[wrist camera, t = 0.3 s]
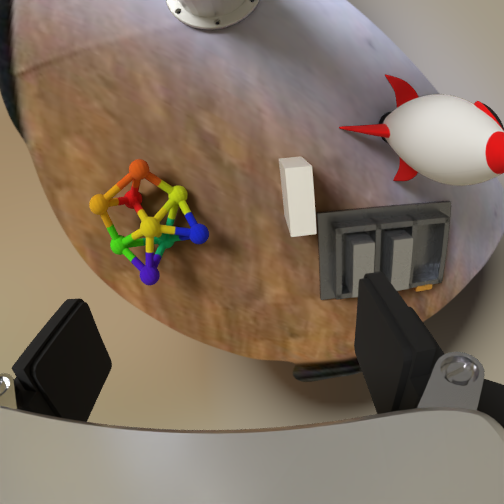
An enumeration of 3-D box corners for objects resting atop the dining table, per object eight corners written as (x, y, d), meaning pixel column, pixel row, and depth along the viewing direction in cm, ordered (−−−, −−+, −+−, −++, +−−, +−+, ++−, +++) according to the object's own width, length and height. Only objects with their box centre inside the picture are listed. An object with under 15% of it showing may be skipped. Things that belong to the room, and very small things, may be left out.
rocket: (436, 129, 39) (565, 163, 16) (393, 181, 43) (506, 253, 20) (385, 74, 36) (509, 54, 13) (338, 127, 40) (437, 151, 17)
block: (278, 158, 42) (284, 168, 34) (301, 156, 41) (311, 165, 34) (284, 215, 45) (291, 236, 38) (306, 213, 45) (316, 234, 37)
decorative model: (162, 141, 37) (218, 251, 38) (171, 157, 45) (218, 247, 47) (74, 194, 36) (126, 301, 38) (97, 200, 45) (141, 288, 46)
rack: (316, 212, 45) (324, 225, 39) (449, 201, 43) (468, 212, 38) (320, 297, 50) (326, 318, 45) (440, 279, 49) (455, 296, 44)
